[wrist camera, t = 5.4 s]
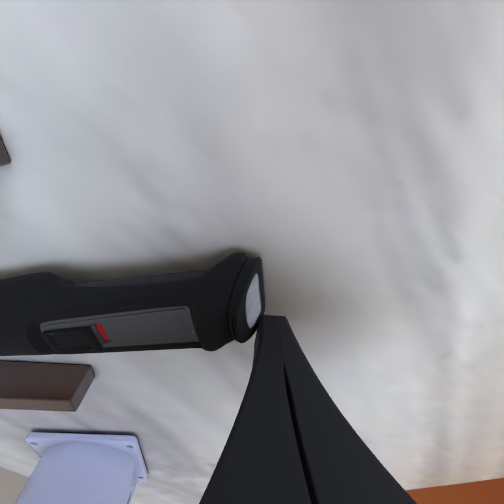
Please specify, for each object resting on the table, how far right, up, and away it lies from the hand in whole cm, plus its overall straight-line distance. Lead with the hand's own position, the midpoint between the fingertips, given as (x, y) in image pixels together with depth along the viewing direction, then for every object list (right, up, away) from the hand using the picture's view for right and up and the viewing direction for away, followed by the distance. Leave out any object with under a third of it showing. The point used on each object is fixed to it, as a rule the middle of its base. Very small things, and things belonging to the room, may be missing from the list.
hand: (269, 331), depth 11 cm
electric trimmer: (-8, +2, +1) cm, 8 cm away
